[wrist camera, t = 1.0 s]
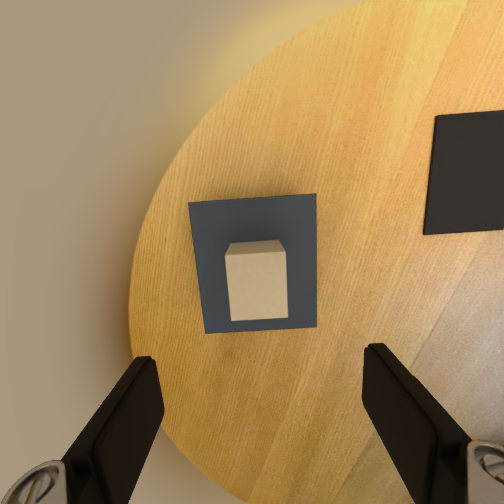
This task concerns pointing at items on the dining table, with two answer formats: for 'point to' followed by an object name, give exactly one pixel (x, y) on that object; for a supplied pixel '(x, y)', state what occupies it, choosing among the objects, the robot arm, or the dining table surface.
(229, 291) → the small box
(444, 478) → the robot arm
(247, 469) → the dining table surface
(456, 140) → the mat
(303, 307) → the storage box
